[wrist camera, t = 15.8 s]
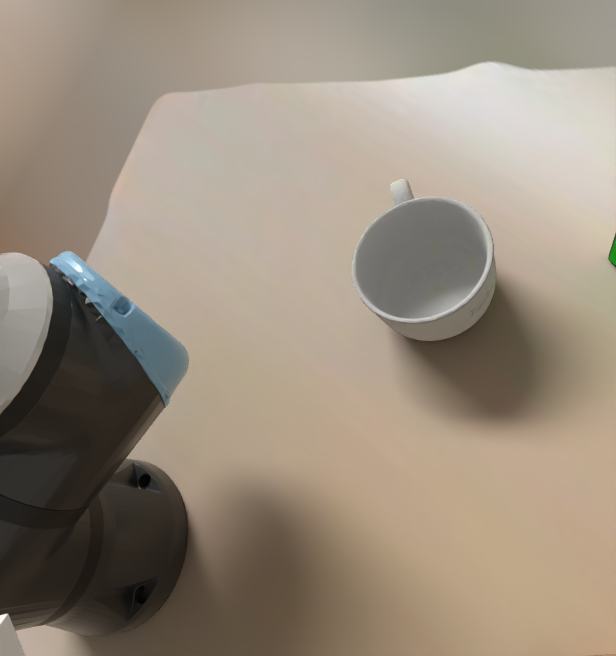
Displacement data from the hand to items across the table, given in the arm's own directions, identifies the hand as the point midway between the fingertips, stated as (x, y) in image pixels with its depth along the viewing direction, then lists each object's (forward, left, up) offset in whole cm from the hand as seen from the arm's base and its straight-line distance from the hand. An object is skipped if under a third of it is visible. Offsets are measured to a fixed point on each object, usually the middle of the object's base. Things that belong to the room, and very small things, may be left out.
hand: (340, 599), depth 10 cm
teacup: (+2, +22, -30) cm, 38 cm away
